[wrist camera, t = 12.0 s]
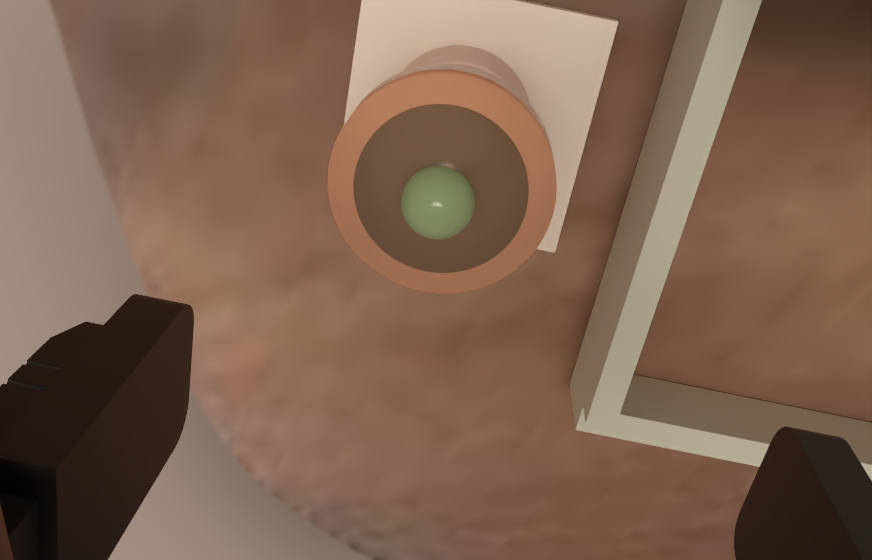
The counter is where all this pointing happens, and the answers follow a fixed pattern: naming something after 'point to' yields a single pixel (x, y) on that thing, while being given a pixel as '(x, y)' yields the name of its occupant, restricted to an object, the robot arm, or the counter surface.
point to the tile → (511, 42)
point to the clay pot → (444, 174)
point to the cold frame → (650, 262)
